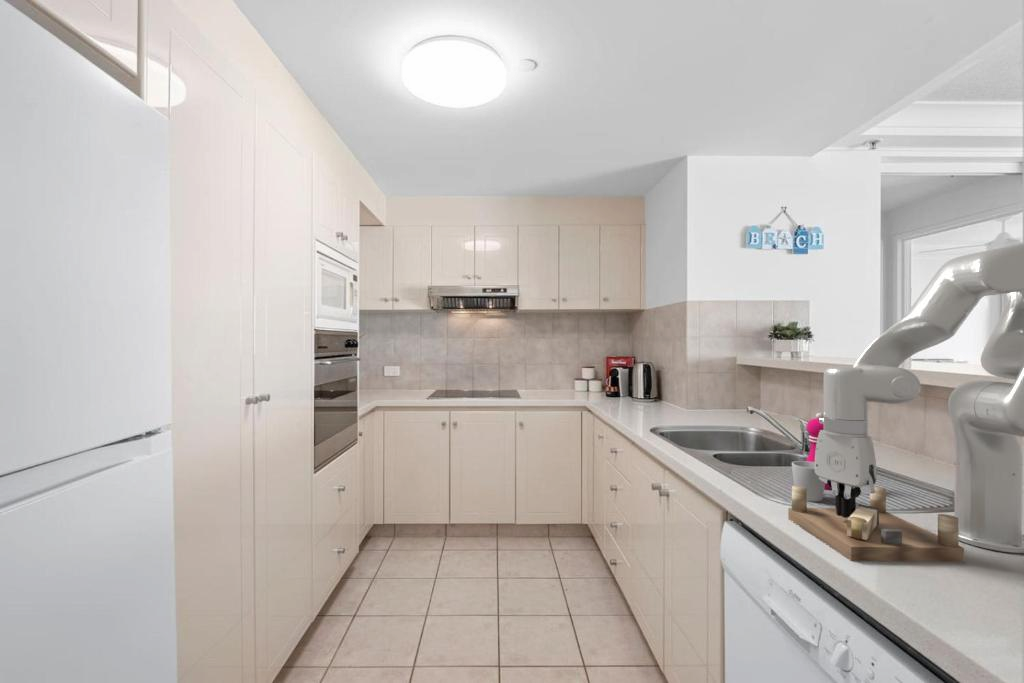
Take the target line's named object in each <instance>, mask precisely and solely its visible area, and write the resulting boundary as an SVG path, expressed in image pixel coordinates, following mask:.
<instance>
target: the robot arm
mask: <svg viewBox="0 0 1024 683" xmlns="http://www.w3.org/2000/svg"><path fill="white" fill-rule="evenodd" d="M996 295H1002V296H1003V299H1004V307H1003V310H1002V312H1001V314H1000V316H999V319H998V321H997V323H996V325H995V326H994V328H993V331H992V333H991V334H990V336H989V338H988V340H987V342H986V344H985V346H984V347H983V350H982V353H981V355H980V364H981V366H982V368H983V370H984V371H985V372H987V373H988V374H990V375H993V376H995V377H997V378H1002V379H1008V380H1014V383H1011V382H1010V383H1009V382H1003V381H992V380H972V381H968V382H965V383H962V384H960V385H957V386H956V387H955V388H954V389H953V391H951V393H950V394H949V396H948V404H947V405H948V414H949V416H950V420H951V426H952V429H953V438H954V439H953V440H954V441H953V443H954V475H953V476H954V479H953V480H954V481H953V482H954V489H953V490H954V492H953V493H954V496H953V497H954V501H953V502H954V511H953V512H954V514H953V516H955V517H957V518H958V519H959V538H958V542H963V543H965V544H968V545H971V546H976V547H977V548H978V547H979V548H983V549H987V550H991V551H996V552H997V551H998V552H1003V553H1014V554H1024V536H1023V455H1022V452H1023V451H1022V449H1021V446H1020V442H1019V440H1018V438H1017V437H1021V438H1022V437H1023V438H1024V241H1022V242H1021V241H1020V242H1016V243H1014V244H1010V245H1007V246H1003V247H999V248H993V249H988V250H984V251H980V252H975V253H971V254H970V253H969V254H966V255H965V254H964V255H962V256H958V257H954V258H952V259H949V260H948V261H946V262H945V263H944V264H942V265H941V267H940V268H939V269H938V270H937V272H936V273H935V274H934V275H933V277H932V278H931V279H930V281H929V282H928V284H927V285H926V286H925V287H924V289H923V290H922V292H921V293H920V294H919V296H918V297H917V299H916V300H915V302H914V303H913V305H912V306H911V307H910V309H909V310H908V311H907V312H906V314H905V315H904V316H903V317H902V318H901V319H900V320H898V321H897V322H895V323H894V324H893V325H892V326H890V327H889V328H888V329H886V330H885V331H884V332H883V333H881V334H880V335H879V336H878V337H876V338H875V339H874V340H873V341H872V342H871V343H870V344H869V345H867V347H866V348H865V349H864V351H863V352H862V353H861V355H860V356H859V357H858V359H857V360H856V361H855V363H854V365H853V366H829V367H827V368H826V369H825V370H824V372H823V418H822V417H821V418H820V419H819V423H821V424H823V428H824V430H820V432H819V435H818V439H817V444H816V451H815V473H816V475H818V476H819V480H821V481H823V482H825V483H827V484H828V485H829V486H830V488H831V489H830V490H831V492H832V494H833V495H834V496H835V508H836V514H837V515H838V516H842V517H844V518H847V517H850V516H851V515H852V513H853V512H854V511H855V510H856V507H857V506H856V502H857V501H856V498H859V497H860V496H861V495H862V494H865V495H870V494H871V493H875V488H874V486H875V484H876V482H877V459H876V453H875V448H874V442H873V439H872V436H871V435H869V403H878V404H879V403H880V404H885V405H886V404H887V405H896V406H897V405H903V404H908V403H910V402H912V401H915V399H916V398H917V397H918V396H919V394H920V393H921V391H922V390H921V388H922V387H921V385H922V384H921V382H920V379H919V377H918V376H917V375H916V374H914V373H913V372H912V371H910V370H908V369H905V368H902V367H900V366H901V365H903V364H904V363H905V361H906V360H908V359H909V358H911V357H912V356H914V355H916V354H918V353H919V352H922V351H924V350H926V349H929V348H932V347H935V346H938V345H939V344H942V343H943V342H945V341H946V342H947V341H948V340H949V339H951V338H952V337H953V336H955V335H956V334H957V332H958V331H959V329H960V327H962V325H963V324H964V322H965V321H966V320H967V319H968V317H969V315H970V314H971V313H972V311H973V310H974V309H975V308H976V306H977V305H978V304H979V303H980V301H981V299H982V298H983V297H987V296H996Z"/></svg>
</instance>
